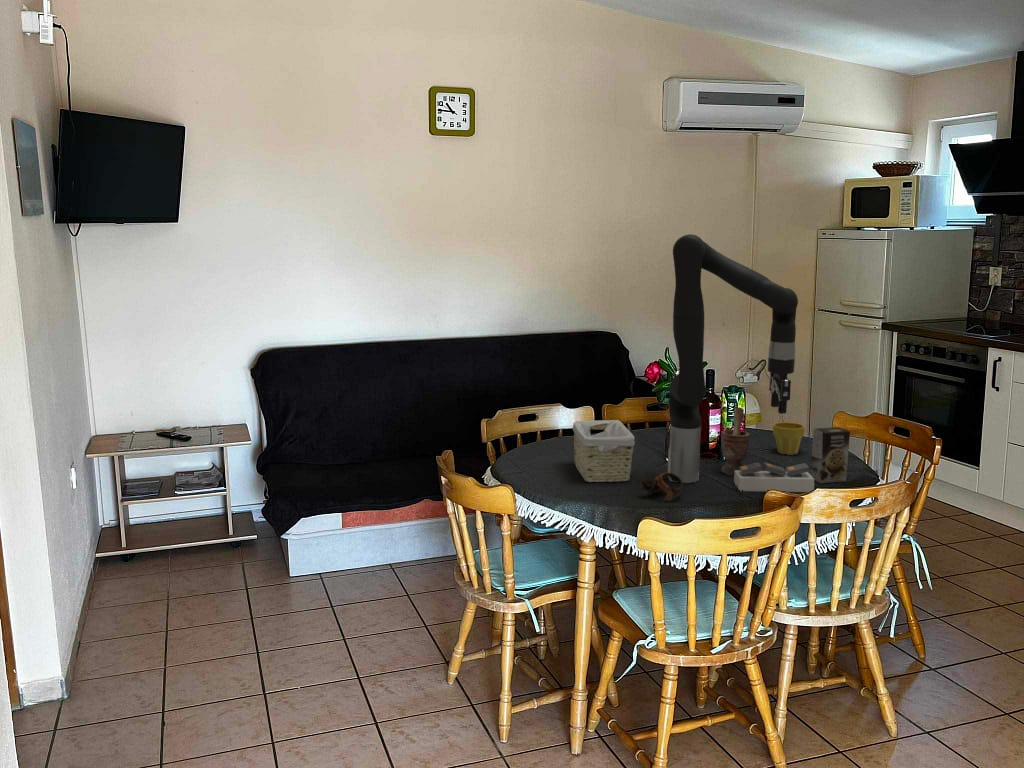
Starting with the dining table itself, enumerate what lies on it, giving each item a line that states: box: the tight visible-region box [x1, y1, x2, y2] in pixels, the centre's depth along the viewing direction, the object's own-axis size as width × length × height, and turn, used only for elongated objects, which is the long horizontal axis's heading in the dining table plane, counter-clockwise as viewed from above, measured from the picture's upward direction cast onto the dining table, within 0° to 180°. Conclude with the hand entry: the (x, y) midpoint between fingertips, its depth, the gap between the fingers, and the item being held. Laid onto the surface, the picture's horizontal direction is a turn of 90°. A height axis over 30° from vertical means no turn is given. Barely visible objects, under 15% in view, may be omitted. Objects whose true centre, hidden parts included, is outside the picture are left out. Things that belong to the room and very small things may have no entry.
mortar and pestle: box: [720, 407, 750, 476], centre depth 293 cm, size 12×9×20 cm
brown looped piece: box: [640, 471, 684, 503], centre depth 268 cm, size 12×10×8 cm
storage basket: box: [572, 419, 636, 483], centre depth 291 cm, size 24×16×15 cm
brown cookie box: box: [809, 426, 851, 484], centre depth 284 cm, size 9×6×16 cm
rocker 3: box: [785, 462, 811, 476], centre depth 276 cm, size 6×4×2 cm
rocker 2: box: [761, 462, 786, 476], centre depth 277 cm, size 6×4×2 cm
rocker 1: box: [739, 462, 764, 475], centre depth 277 cm, size 6×4×2 cm
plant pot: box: [772, 421, 806, 456], centre depth 315 cm, size 10×10×10 cm
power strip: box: [733, 470, 815, 493], centre depth 277 cm, size 22×8×5 cm, turn 87°
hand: (778, 410), depth 274 cm, fingers open, 8 cm apart
